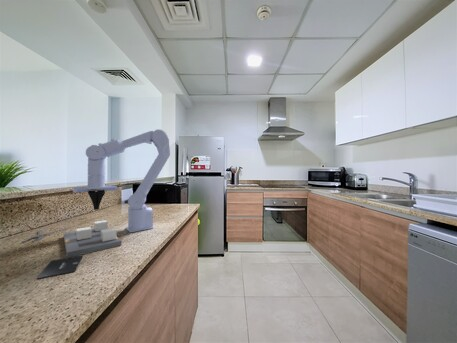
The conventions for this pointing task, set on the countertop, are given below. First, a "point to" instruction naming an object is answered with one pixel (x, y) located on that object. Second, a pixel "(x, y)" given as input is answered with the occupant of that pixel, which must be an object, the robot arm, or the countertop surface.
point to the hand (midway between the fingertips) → (96, 209)
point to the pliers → (41, 235)
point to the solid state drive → (60, 267)
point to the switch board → (87, 243)
